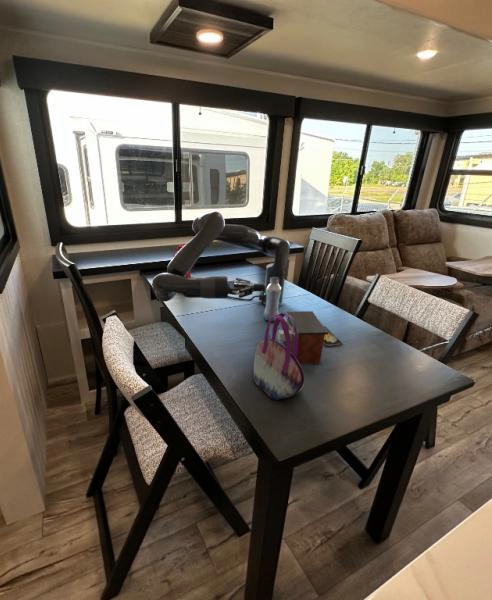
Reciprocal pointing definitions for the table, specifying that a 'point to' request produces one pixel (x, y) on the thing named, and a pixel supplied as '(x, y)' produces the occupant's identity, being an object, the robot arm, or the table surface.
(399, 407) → the table surface
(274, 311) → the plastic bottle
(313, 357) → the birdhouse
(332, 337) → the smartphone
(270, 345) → the handbag
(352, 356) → the table surface
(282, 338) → the piano key
